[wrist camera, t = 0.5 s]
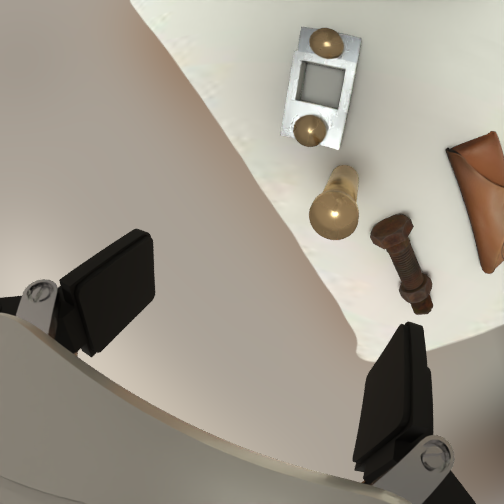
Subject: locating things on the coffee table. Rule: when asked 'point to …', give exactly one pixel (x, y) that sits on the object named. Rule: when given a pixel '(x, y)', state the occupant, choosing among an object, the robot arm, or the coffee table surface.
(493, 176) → the sunglasses case
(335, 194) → the link pin
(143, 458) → the robot arm
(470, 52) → the coffee table surface
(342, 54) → the brass knob on bracket
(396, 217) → the bolt
